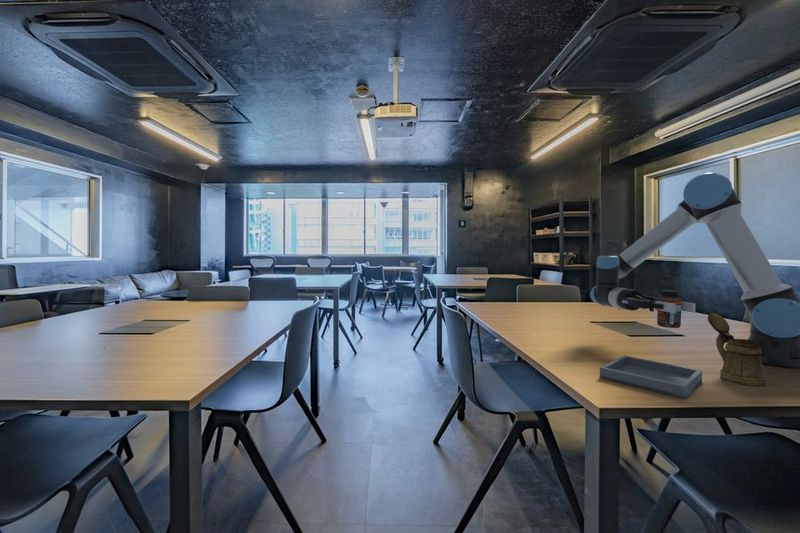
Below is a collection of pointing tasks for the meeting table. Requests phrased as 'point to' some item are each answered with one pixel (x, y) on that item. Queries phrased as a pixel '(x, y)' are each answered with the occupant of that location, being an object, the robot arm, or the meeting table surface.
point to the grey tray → (652, 376)
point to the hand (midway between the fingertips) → (684, 308)
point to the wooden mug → (737, 355)
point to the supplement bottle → (667, 317)
